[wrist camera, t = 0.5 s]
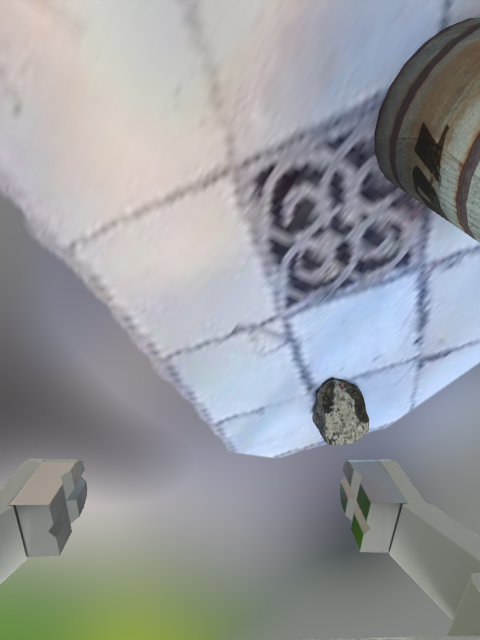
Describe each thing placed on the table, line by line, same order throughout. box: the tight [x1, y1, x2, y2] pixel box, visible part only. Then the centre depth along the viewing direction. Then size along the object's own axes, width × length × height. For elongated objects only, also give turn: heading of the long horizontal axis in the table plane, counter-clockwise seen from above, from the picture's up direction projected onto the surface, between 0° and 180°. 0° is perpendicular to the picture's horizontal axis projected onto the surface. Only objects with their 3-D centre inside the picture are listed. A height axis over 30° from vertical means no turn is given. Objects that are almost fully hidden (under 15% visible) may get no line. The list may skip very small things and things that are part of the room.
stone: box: [312, 379, 369, 446], centre depth 94 cm, size 19×18×15 cm
